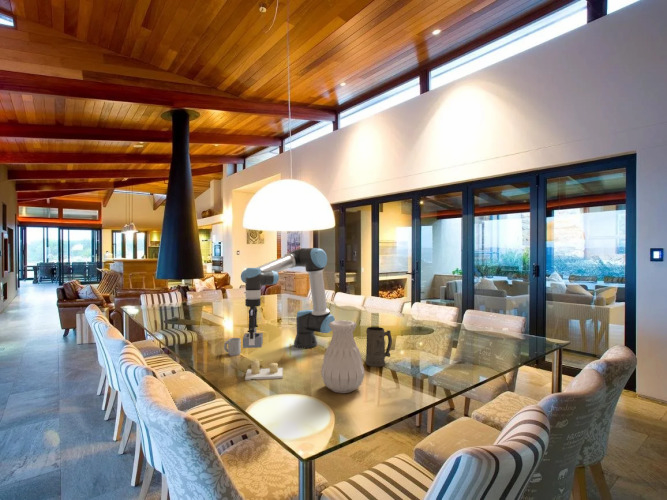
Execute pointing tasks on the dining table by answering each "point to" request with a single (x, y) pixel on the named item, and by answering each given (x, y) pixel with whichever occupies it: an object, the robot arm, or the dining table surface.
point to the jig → (263, 371)
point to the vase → (342, 359)
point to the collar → (257, 340)
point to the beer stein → (377, 346)
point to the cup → (233, 346)
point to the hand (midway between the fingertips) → (252, 342)
